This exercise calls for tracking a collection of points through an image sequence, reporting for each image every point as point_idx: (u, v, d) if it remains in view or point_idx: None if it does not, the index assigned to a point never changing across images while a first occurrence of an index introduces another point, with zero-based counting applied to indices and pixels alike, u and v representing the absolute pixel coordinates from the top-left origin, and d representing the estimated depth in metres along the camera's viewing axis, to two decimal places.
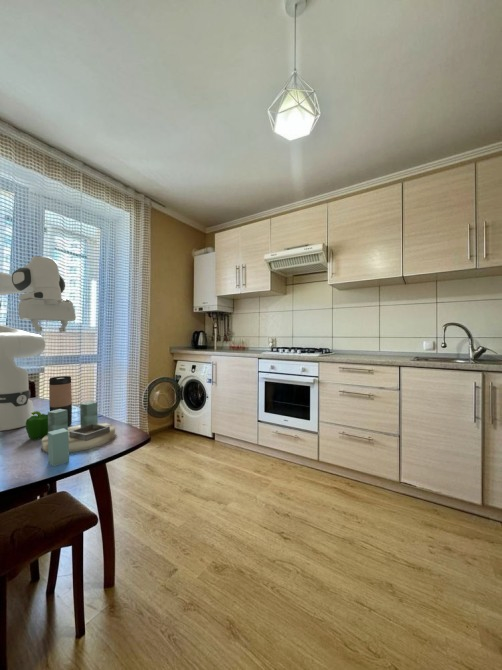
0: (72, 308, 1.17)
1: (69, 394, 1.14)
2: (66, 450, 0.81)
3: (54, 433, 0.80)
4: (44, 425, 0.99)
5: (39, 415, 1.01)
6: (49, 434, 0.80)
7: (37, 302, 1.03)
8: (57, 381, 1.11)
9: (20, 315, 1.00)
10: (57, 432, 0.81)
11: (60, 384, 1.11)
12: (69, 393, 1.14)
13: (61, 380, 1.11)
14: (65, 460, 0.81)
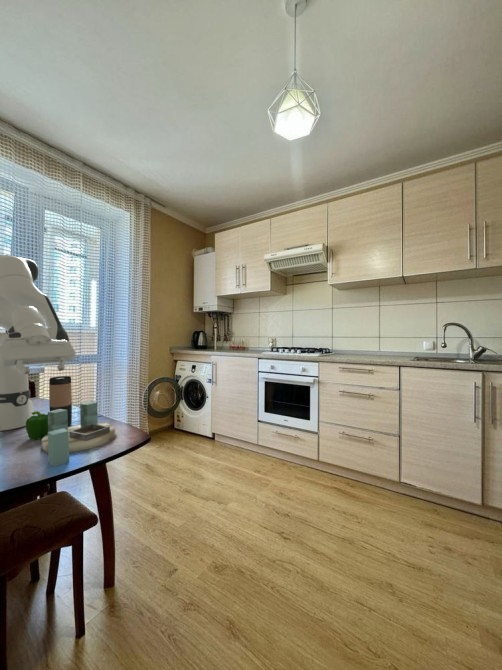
0: (68, 344, 0.99)
1: (69, 394, 1.14)
2: (66, 450, 0.81)
3: (54, 433, 0.80)
4: (44, 425, 0.99)
5: (39, 415, 1.01)
6: (49, 434, 0.80)
7: (16, 343, 0.88)
8: (57, 381, 1.11)
9: None
10: (57, 431, 0.81)
11: (60, 384, 1.11)
12: (69, 393, 1.14)
13: (61, 380, 1.12)
14: (65, 460, 0.81)
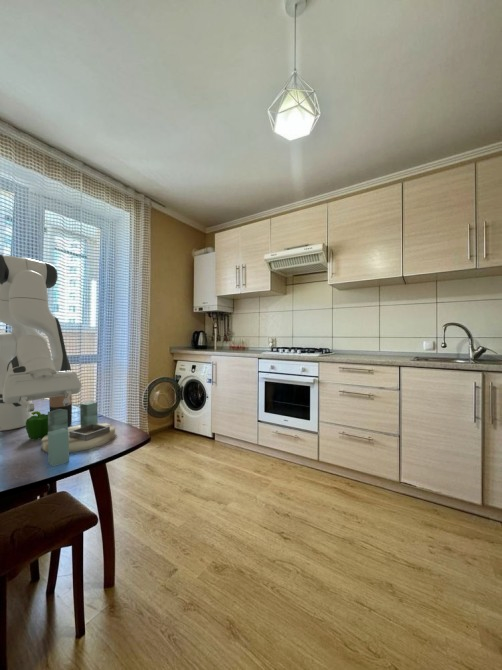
0: (74, 376, 0.96)
1: None
2: (66, 450, 0.81)
3: (54, 433, 0.80)
4: (44, 425, 0.99)
5: (39, 415, 1.01)
6: (49, 434, 0.80)
7: (20, 378, 0.85)
8: None
9: (3, 399, 0.80)
10: (57, 431, 0.81)
11: None
12: None
13: None
14: (65, 460, 0.81)
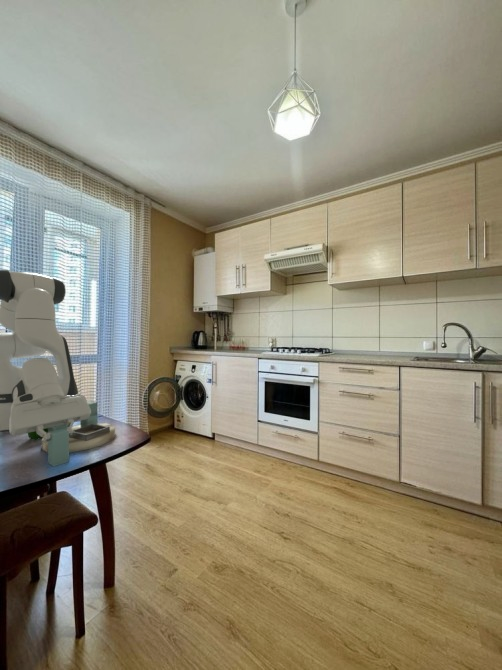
0: (83, 400, 0.91)
1: None
2: (66, 450, 0.81)
3: (54, 433, 0.80)
4: None
5: None
6: None
7: (27, 407, 0.80)
8: None
9: (10, 431, 0.76)
10: (57, 431, 0.81)
11: None
12: None
13: None
14: (65, 460, 0.81)
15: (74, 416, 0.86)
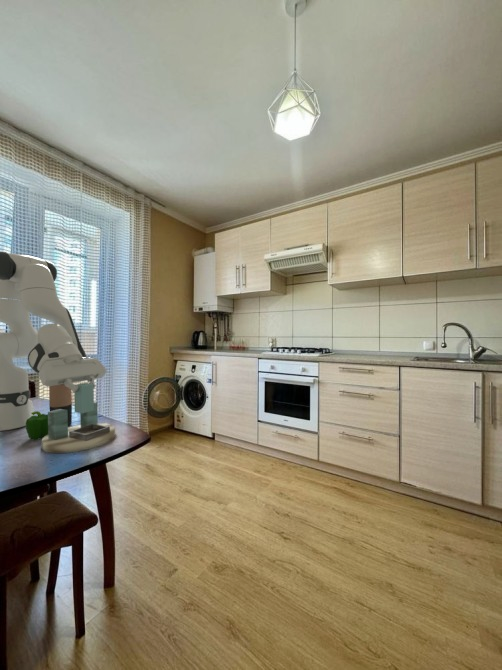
0: (98, 361, 1.03)
1: (69, 394, 1.14)
2: (91, 400, 0.94)
3: (82, 385, 0.92)
4: (44, 425, 0.99)
5: (39, 415, 1.01)
6: None
7: (55, 363, 0.90)
8: None
9: (43, 382, 0.86)
10: (83, 384, 0.93)
11: (60, 384, 1.11)
12: (69, 393, 1.14)
13: None
14: (91, 409, 0.93)
15: (94, 373, 0.98)
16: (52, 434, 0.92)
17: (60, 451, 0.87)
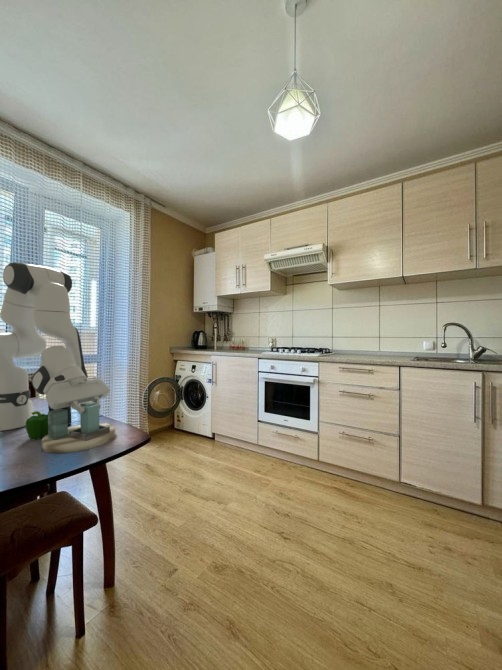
0: (101, 382, 1.06)
1: None
2: (97, 420, 0.97)
3: (88, 406, 0.95)
4: (44, 425, 0.99)
5: (39, 415, 1.01)
6: None
7: (62, 386, 0.93)
8: None
9: (51, 405, 0.89)
10: (89, 405, 0.96)
11: None
12: None
13: None
14: (97, 429, 0.96)
15: (98, 394, 1.01)
16: (52, 434, 0.92)
17: (60, 451, 0.87)
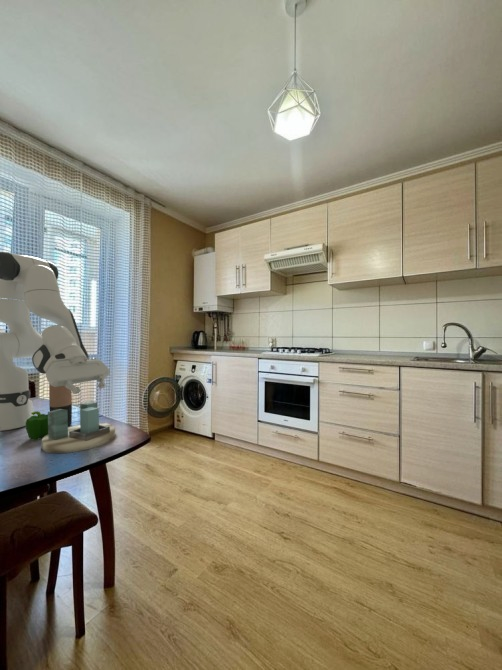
0: (102, 363, 1.06)
1: (69, 394, 1.14)
2: (97, 424, 0.97)
3: (88, 410, 0.95)
4: (44, 425, 0.99)
5: (39, 415, 1.01)
6: (82, 411, 0.95)
7: (62, 364, 0.93)
8: None
9: (51, 382, 0.88)
10: (89, 409, 0.96)
11: None
12: (69, 393, 1.14)
13: None
14: None
15: (99, 374, 1.01)
16: (52, 434, 0.92)
17: (60, 451, 0.87)
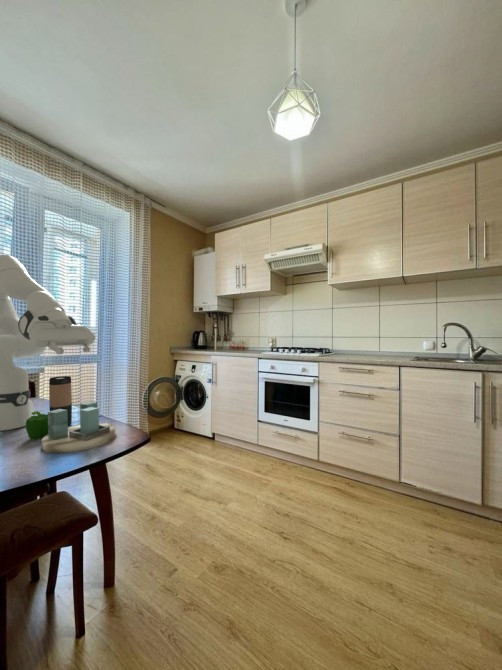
0: (87, 329, 1.06)
1: (69, 394, 1.14)
2: (97, 424, 0.97)
3: (88, 410, 0.95)
4: (44, 425, 0.99)
5: (39, 415, 1.01)
6: (82, 411, 0.95)
7: (45, 325, 0.93)
8: (57, 381, 1.11)
9: (34, 342, 0.89)
10: (89, 409, 0.96)
11: (60, 384, 1.11)
12: (69, 393, 1.14)
13: (61, 380, 1.11)
14: None
15: (83, 338, 1.01)
16: (52, 434, 0.92)
17: (60, 451, 0.87)
